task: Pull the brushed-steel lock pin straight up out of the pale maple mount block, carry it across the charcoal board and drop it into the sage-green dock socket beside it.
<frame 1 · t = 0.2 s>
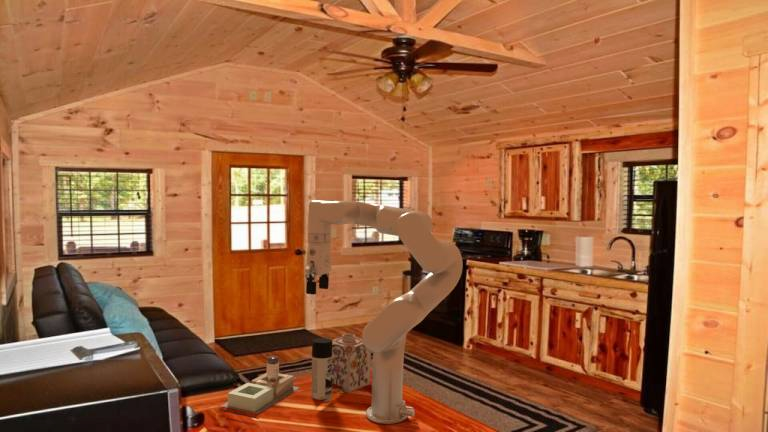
hand: (317, 291, 175), 36 cm above the table, tool pointing down, fingers open, 9 cm apart
maple mount: (272, 394, 182), resting on base board
decorative jar: (348, 385, 192), on the table
sage dock: (250, 407, 171), resting on base board
base board: (261, 400, 176), on the table
spray can: (321, 400, 178), on the table
steel pin: (272, 389, 182), point 1 cm above the table, touching base board
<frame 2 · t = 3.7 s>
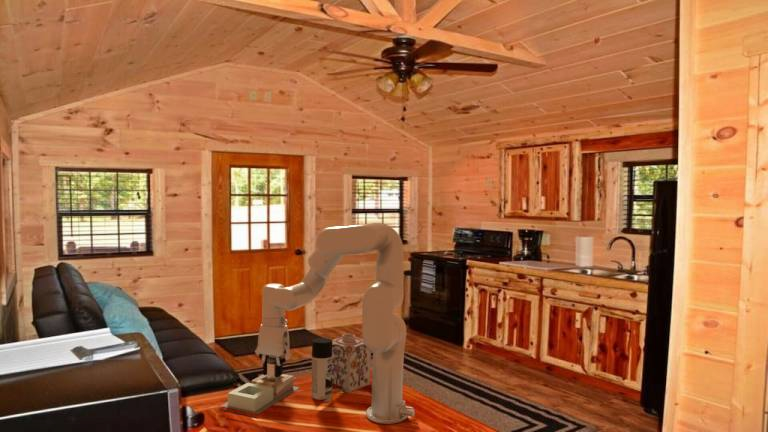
hand: (272, 374, 181), 7 cm above the table, tool pointing down, fingers closed on steel pin, 4 cm apart
steel pin: (272, 389, 182), point 1 cm above the table, touching base board, gripper
everything else where it was.
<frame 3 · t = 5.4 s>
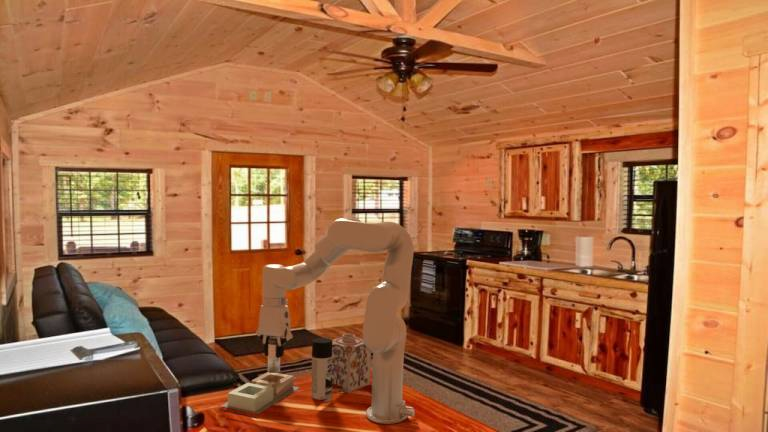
hand: (273, 355, 181), 13 cm above the table, tool pointing down, fingers closed on steel pin, 4 cm apart
steel pin: (273, 371, 181), point 8 cm above the table, touching gripper
everything else where it was.
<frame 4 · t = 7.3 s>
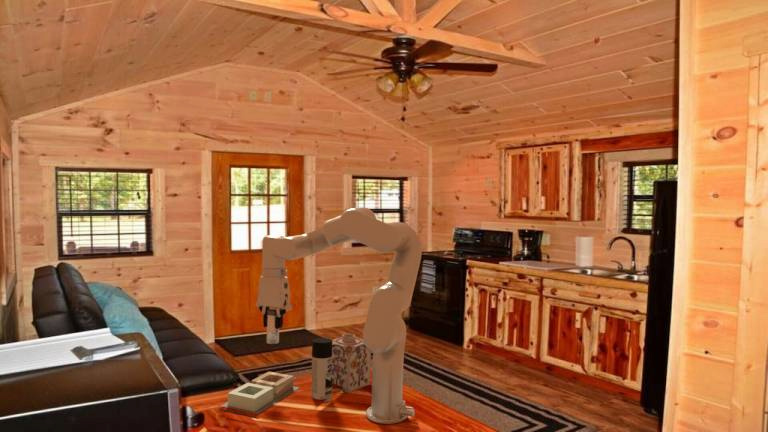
hand: (273, 326, 180), 23 cm above the table, tool pointing down, fingers closed on steel pin, 4 cm apart
steel pin: (272, 342, 180), point 18 cm above the table, touching gripper
everything else where it was.
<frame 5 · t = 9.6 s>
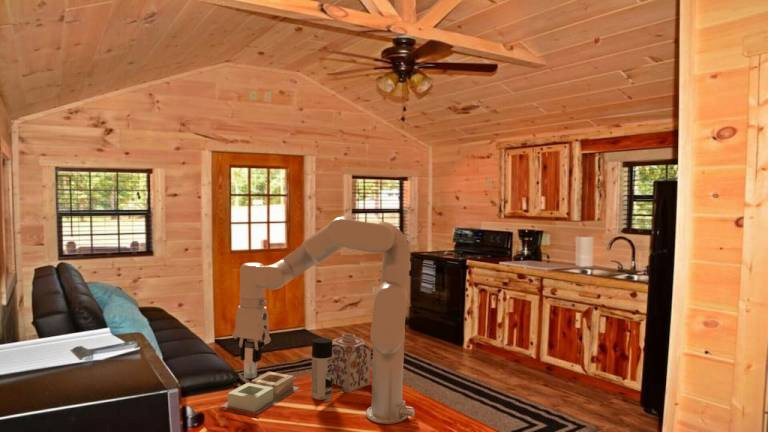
hand: (250, 359, 170), 15 cm above the table, tool pointing down, fingers closed on steel pin, 4 cm apart
steel pin: (250, 376, 170), point 10 cm above the table, touching gripper
everything else where it was.
when the fingers open (8 cm above the table, at t = 11.2 s): steel pin drops 1 cm, resting on base board.
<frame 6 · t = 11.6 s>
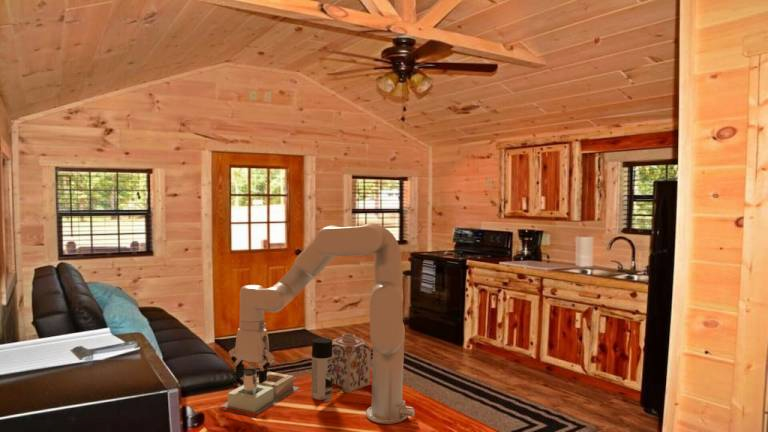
hand: (251, 379, 170), 9 cm above the table, tool pointing down, fingers open, 8 cm apart
steel pin: (251, 402, 170), point 2 cm above the table, touching base board
everything else where it was.
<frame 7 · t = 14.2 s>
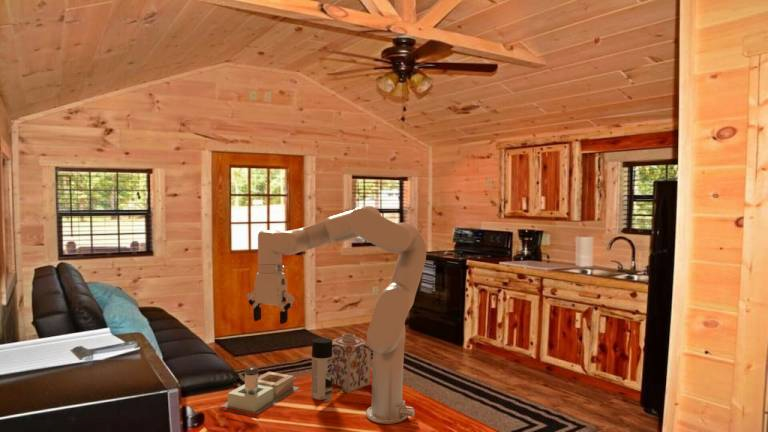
hand: (270, 321, 174), 26 cm above the table, tool pointing down, fingers open, 9 cm apart
nothing on the table moved.
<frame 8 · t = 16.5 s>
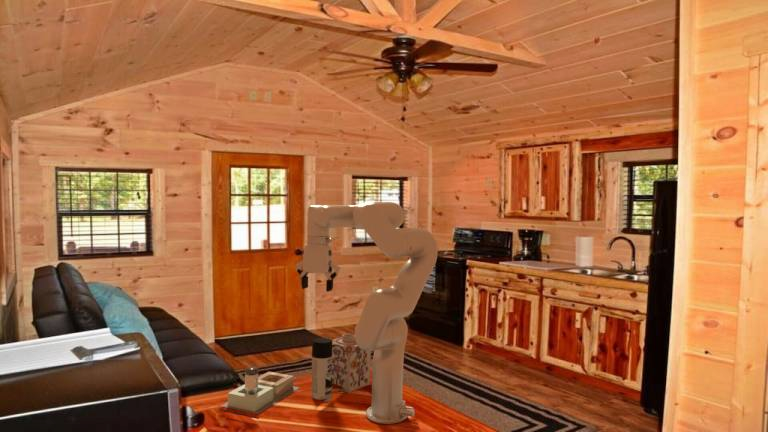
hand: (317, 289, 188), 34 cm above the table, tool pointing down, fingers open, 9 cm apart
nothing on the table moved.
at the end: steel pin 0.1 cm off-centre on the sage dock, point 1.5 cm above the sage dock's base; steel pin tilted 1°; the gripper is holding nothing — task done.
